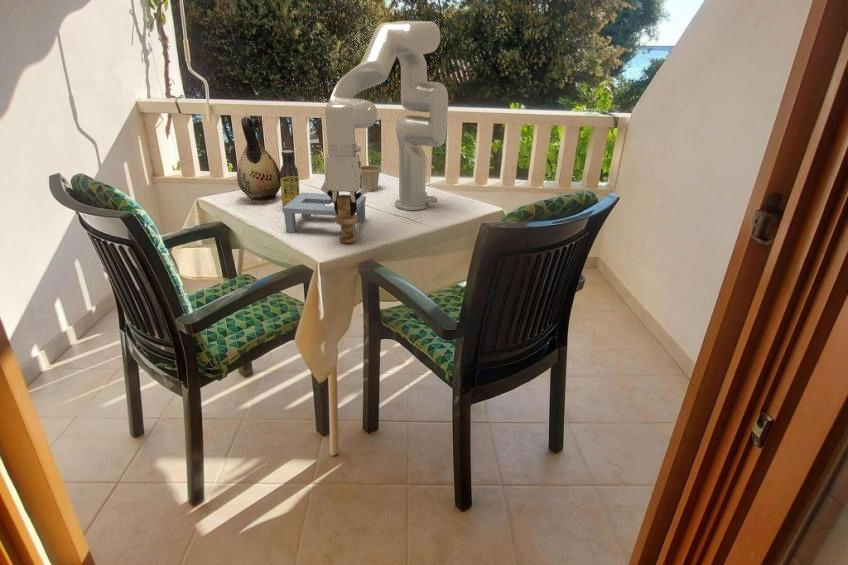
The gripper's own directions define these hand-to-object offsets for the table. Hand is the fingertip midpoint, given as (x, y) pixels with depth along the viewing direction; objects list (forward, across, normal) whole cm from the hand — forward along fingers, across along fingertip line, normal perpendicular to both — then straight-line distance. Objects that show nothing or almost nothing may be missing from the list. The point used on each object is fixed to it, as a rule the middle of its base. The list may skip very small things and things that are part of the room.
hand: (345, 213), depth 144 cm
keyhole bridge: (+9, +10, -12) cm, 19 cm away
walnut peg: (+9, 0, 0) cm, 9 cm away
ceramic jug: (+10, +42, -34) cm, 55 cm away
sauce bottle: (+9, +28, -28) cm, 41 cm away
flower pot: (+10, +6, -56) cm, 58 cm away
